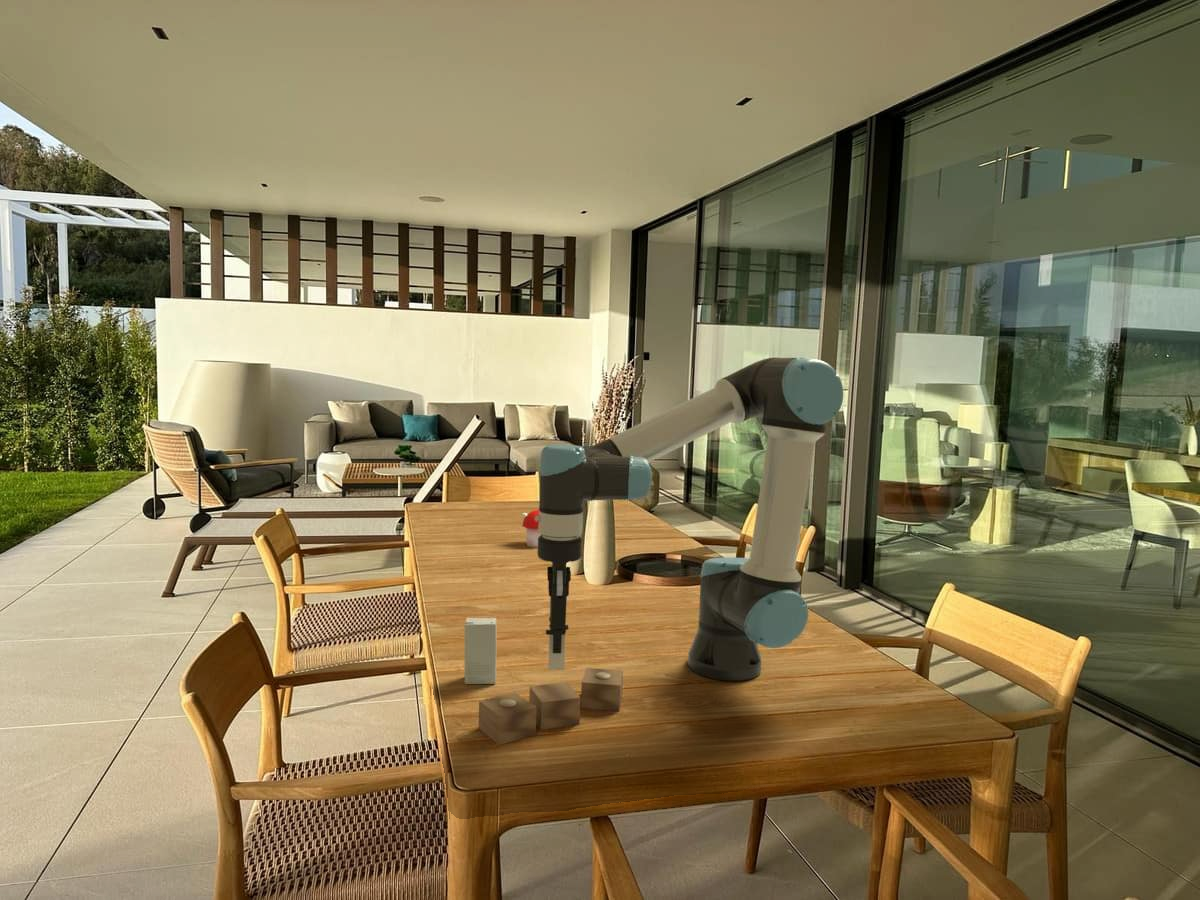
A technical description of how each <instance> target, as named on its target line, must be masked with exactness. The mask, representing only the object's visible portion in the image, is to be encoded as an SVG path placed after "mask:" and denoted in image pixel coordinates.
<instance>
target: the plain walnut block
mask: <svg viewBox="0 0 1200 900" xmlns="http://www.w3.org/2000/svg"><path fill="white" fill-rule="evenodd" d="M528 701H529V702H530V703H532V704H533V705H535V706H536V707H537V710H536V726H537V727H538V728H539V730H541V731H542V730H548V729H556V728H563V727H569V726H577V725H580V721H581V719H580V718H581V717H580V716H581V695H579V693H577V691H576V690H575V689H574V688H573V687H572V686H571V685H570V684H569V682H568V681H563V682H562V681H561V682H554V683H545V684H537V685H530V686H529V700H528Z"/></svg>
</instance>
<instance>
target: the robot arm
mask: <svg viewBox="0 0 1200 900" xmlns="http://www.w3.org/2000/svg"><path fill="white" fill-rule="evenodd" d="M843 401H844V386H843V383H842V379H841V376H840V375H838V373H837V372H836V370H835V369H834V368H833V367H832V365H830V364H829V363H827V362H826V361H823V360H821V359H815V358H810V357H802V356H800V357H768V358H763V359H761V360H758V361H755V362H753V363H751V364H749V365H747V366H744V367H742V368H741V369H739V370H736V371H735V372H733V373H731V374H729V375H727V376H724V377H722V378H720V379H718V380H717V381H716V383H715V387H713V388H712V389H710V390H706V391H705V392H702V393H701V394H699V395H697V396H694V397H692V398H690V399H688V400H687V401H684V402H682V403H679V404H677V405H676V406H673V407H672V408H669V409H667V410H665V411H663V412H661V413H659V414H657V415H655V416H652V417H651V418H649V419H647V420H645V421H643V422H640V423H638V424H635V425H634V426H631V427H630V428H627V429H626V430H623V431H622V432H619V433H617V434H615V435H614V436H613V435H612V436H611V437H608V438H606V439H605V440H601V441H599V442H597V443H595V444H593V445H582V446H580V445H575V444H549V445H546V446H544V447H543V448H542V450H541V452H540V462H539V471H538V475H539V479H538V480H539V487H538V488H539V491H538V494H539V496H538V498H539V499H538V500H539V501H538V504H539V505H538V507H539V508H538V510H539V515H540V516H536V517H535V521H537V522H539V531H538V532H539V533H540V534H541V535H540V536H539V538H538V547H537V557H538V558H539V559H540V560H542V561H544V562H550V563H551V565H552V566H547V572H546V573H547V575H546V576H547V581H548V587H547V588H548V590H547V591H548V596H549V597H550V601H549V608H550V609H549V618H548V621H549V624H548V626H549V629H546V630H545V635H548V659H547V660H548V662H547V664H548V665H547V666H548V667H547V669H548V671H565V653H566V652H565V649H566V640H565V639H566V633H567V631H568V630H569V624H566V621H567V619H566V618H567V600H568V599H567V597H569V593H570V582H571V575H572V571H571V566H567V563H571V562H573V563H574V562H576V561H579V560H580V559H581V558H582V548H583V547H582V545H583V539H582V538H581V536H582V534H583V530H584V529H583V527H584V526H583V525H584V501H587V502H588V501H589V502H590V501H591V502H592V501H627V502H628V501H631V500H639V499H640V500H641V499H645V498H646V497H647V496H648V495H649V493H650V491H651V488H652V483H653V481H652V480H653V475H652V474H653V473H652V468H651V465H650V462H653V461H654V460H656V459H658V458H660V457H662V456H665V455H667V454H669V453H670V452H673V451H675V450H677V449H679V448H681V447H684V446H685V445H687V444H689V443H691V442H693V441H696V440H697V439H699V438H701V437H704V436H706V435H707V434H710V433H712V432H714V431H715V430H718V429H720V428H722V427H723V426H726V425H728V424H731V423H734V424H736V425H738V424H741V423H743V422H745V421H747V420H750V419H754V418H761V417H762V420H761V427H762V428H763V430H764V431H765V432H766V434H767V441H766V442H767V443H766V449H765V455H764V463H763V469H762V475H761V481H760V488H759V494H758V500H757V507H756V508H757V509H756V515H755V521H754V525H753V526H754V528H753V534H752V540H751V547H750V553H749V558H747V557H734V556H733V557H730V556H729V557H713V558H709V559H706V560H704V562H703V563H702V566H701V572H700V576H699V578H700V587H699V607H698V626H697V627H698V628H697V631H696V633H695V636H694V638H693V642H692V643H691V646H690V649H689V651H688V654H687V655H688V658H687V665H688V668H689V669H690V670H691V671H693V672H694V673H696V674H698V675H700V676H703V677H706V678H710V679H713V680H720V681H727V682H728V681H730V682H737V681H738V682H739V681H747V680H751V679H753V678H757V677H758V676H759V675H760V674H761V672H762V665H763V664H762V657H761V656H762V655H761V653H760V649H759V646H758V644H759V645H761V646H762V647H764V648H769V649H779V648H783V647H786V646H788V645H790V644H792V642H793V641H795V639H798V638H799V637H800V636H801V634H802V633H803V632H804V630H805V628H806V626H807V623H808V621H809V607H808V604H807V603H806V602H805V599H804V597H803V596H802V595H801V594H800V591H801V584H802V576H801V574H800V573H799V571H798V570H797V569H796V564H797V557H798V552H799V544H800V539H801V537H800V536H801V532H802V525H803V520H804V519H803V518H804V512H805V506H806V501H807V500H806V499H807V494H808V486H809V482H810V476H811V475H810V474H811V469H812V462H813V456H814V450H815V443H816V442H817V441H818V440H819V439H821V438H822V437H824V436H825V434H826V427H827V423H828V422H830V421H831V420H833V419H834V416H836V415H838V413H839V412H840V410H841V407H842V405H843Z"/></svg>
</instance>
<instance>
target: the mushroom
mask: <svg viewBox="0 0 1200 900" xmlns="http://www.w3.org/2000/svg"><path fill="white" fill-rule="evenodd" d="M536 516H540V515H539V509H538V510H537V509H536V510H531V511H530V512H529V513H526V512H523V513H521V519H522V520H523V521H522V525H521V527H524V528H525V529H526V530H525V540H526V546H528V547H530V548H538V538H539V536H540V535H541V534H540V533H539V532H538V531H539V522H537V521H535V517H536Z"/></svg>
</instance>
